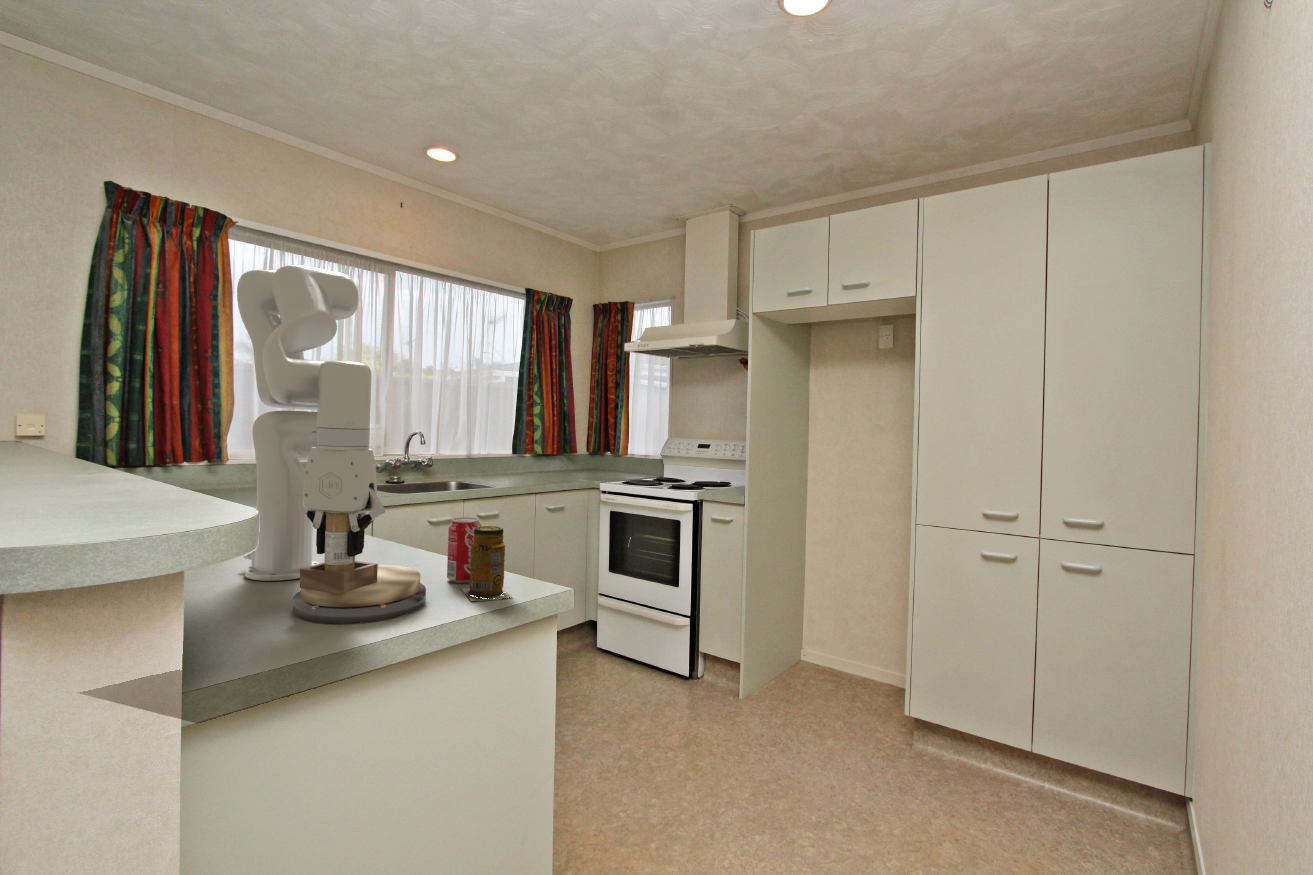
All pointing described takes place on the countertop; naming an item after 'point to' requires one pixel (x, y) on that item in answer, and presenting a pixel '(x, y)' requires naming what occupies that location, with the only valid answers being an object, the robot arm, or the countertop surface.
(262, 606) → the countertop surface
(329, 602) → the dial
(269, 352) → the robot arm
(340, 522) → the sprinkles bottle
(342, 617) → the dial plate
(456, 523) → the beverage can
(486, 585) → the condiment
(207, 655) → the countertop surface
